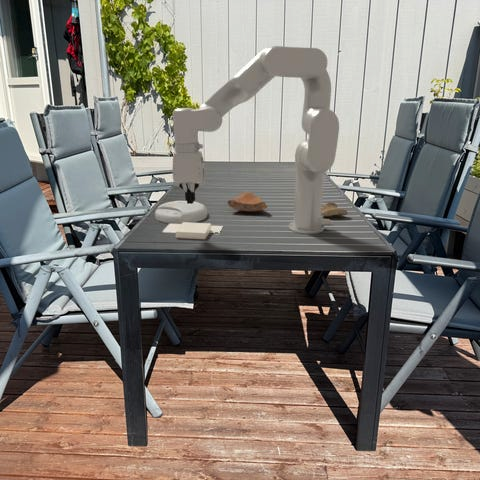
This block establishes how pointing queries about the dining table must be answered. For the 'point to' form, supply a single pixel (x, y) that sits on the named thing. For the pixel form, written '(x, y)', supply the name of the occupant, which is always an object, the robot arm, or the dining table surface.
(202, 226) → the glazed tile
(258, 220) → the dining table surface
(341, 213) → the pottery shard
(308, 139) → the robot arm
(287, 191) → the dining table surface
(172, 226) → the mat
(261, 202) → the ceramic shard
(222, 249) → the dining table surface
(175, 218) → the round ceiling alarm
